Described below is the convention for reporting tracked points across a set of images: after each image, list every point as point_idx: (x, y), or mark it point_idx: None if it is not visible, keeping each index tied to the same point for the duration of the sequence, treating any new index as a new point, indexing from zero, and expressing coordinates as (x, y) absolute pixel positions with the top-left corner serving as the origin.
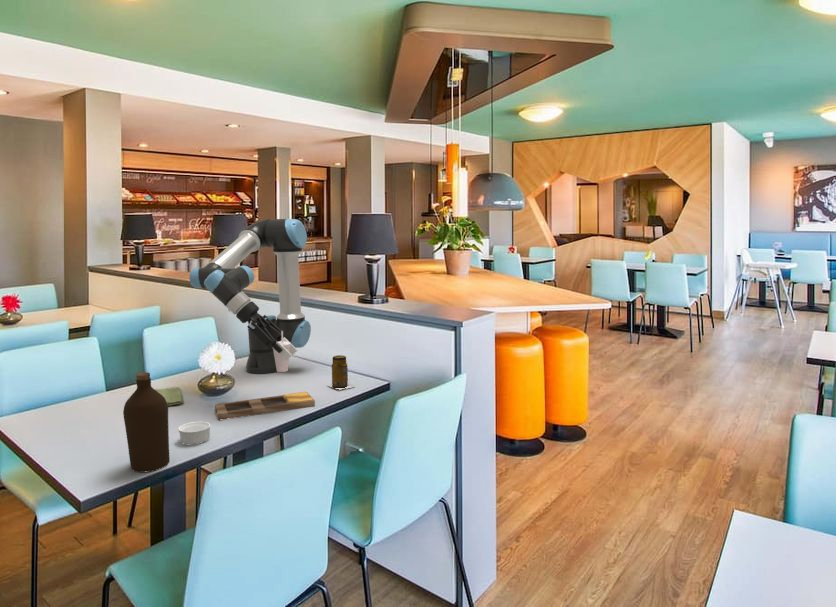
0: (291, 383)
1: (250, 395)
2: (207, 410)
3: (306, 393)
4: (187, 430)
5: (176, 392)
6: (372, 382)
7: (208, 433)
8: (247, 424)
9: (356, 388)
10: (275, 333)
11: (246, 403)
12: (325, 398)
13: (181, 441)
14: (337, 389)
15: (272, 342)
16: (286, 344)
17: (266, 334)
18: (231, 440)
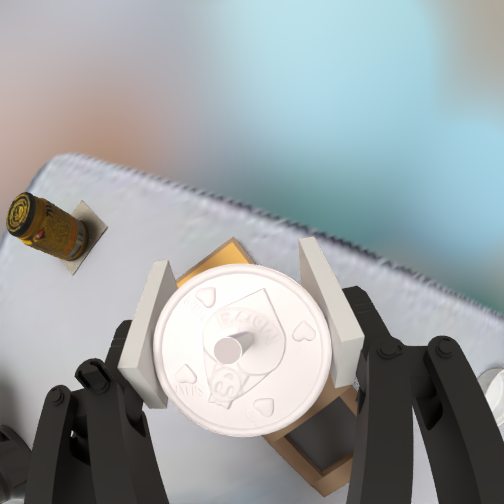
0: (66, 383)
1: (183, 463)
2: (326, 501)
3: (178, 286)
4: None
5: None
6: (53, 179)
7: (494, 370)
8: None
9: (87, 194)
10: (141, 464)
11: (286, 438)
12: (166, 238)
13: (499, 403)
14: (98, 234)
15: (447, 339)
16: (280, 278)
17: (469, 434)
18: (481, 325)
